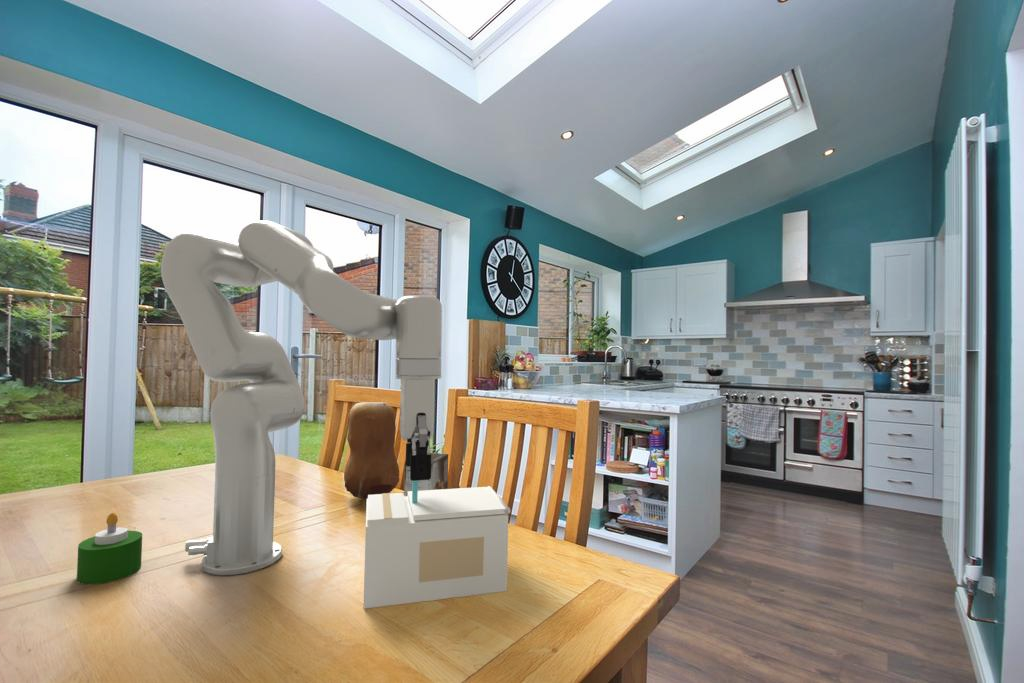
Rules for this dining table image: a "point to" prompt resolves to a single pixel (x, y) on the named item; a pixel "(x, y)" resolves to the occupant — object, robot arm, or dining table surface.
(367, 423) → the butternut squash
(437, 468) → the coffee box
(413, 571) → the carton
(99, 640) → the dining table surface
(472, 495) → the flap
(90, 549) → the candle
